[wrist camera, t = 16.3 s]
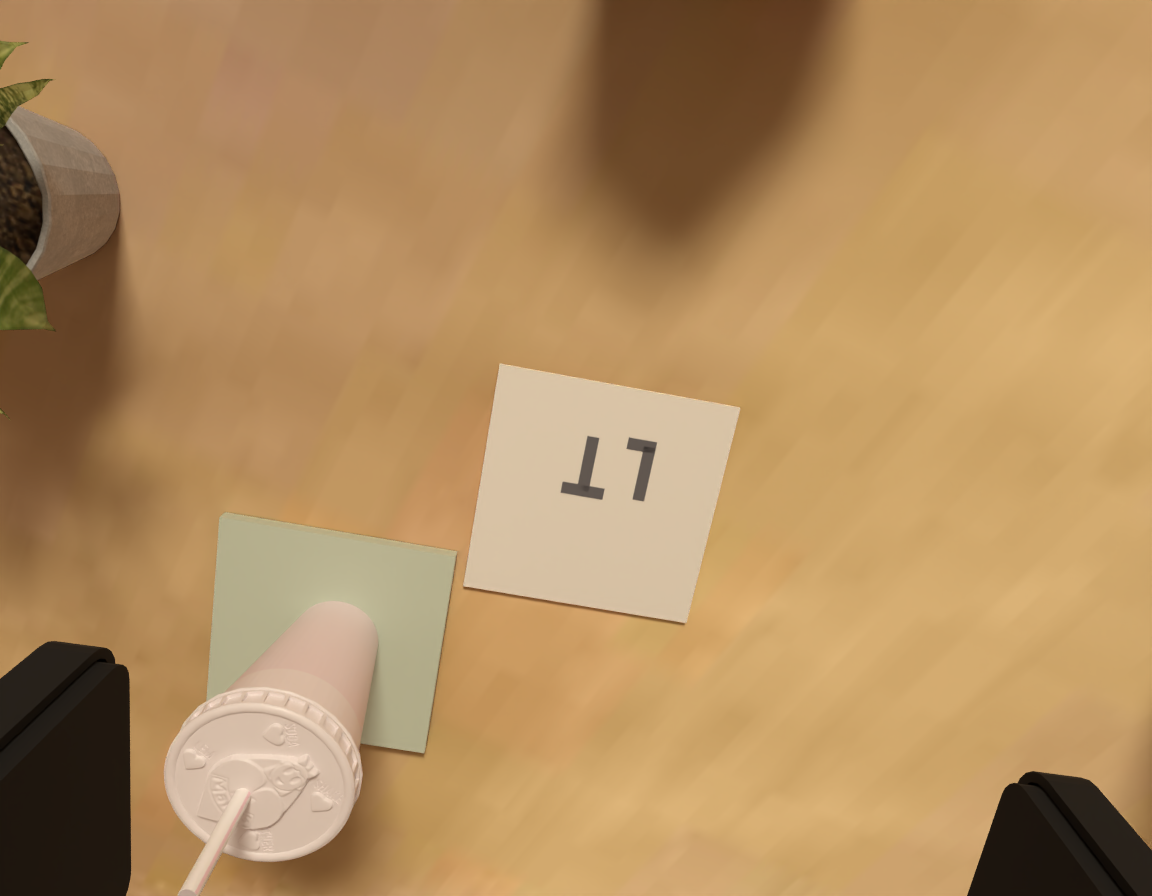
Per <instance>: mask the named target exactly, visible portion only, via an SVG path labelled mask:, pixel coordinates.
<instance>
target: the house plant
mask: <svg viewBox="0 0 1152 896" xmlns="http://www.w3.org/2000/svg"><path fill="white" fill-rule="evenodd" d="M26 43H29V42H5V41H0V69H1V67H2V65H3V63H4V61H5V60H6V58H7V57H8V56H9V55H10V54H11V53H12V51H13V50H14V49H15V48H16V47H17V46H20V45H23V44H26ZM51 80H54V79H41V80H36V81H31V82H25V83H17V84H14V85H11V86H7V87H4V88H0V330H24V329H46V330H51V331H55V329H54V328H53V327H52V326H51V325H50V323H49V322H48V320H47V315H46V309H45V303H44V297H43V292H42V287H41V286H40V284H39V283H38V281H37V280H39V279H41V278H43V277H45V276H47V275H50V274H52V273H54V272H56V271H58V270H60V269H62V268H64V267H66V266H68V265H70V264H72V263H75V262H77V261H79V260H81V259H83V258H85V257H87V256H89V255H91V254H93V253H95V252H96V251H97V250H98V249H99V248H101V247H102V246H103V245H104V244H105V243H106V242H107V241H108V239H109V238H110V236H111V234H112V233H113V231H114V230H115V227H116V223H117V220H118V216H119V212H120V194H119V190H118V186H117V182H116V178H115V175H114V173H113V171H112V169H111V167H110V165H109V164H108V162H107V160H106V158H105V157H104V156H103V154H102V153H101V152H100V151H99V150H98V149H97V147H96V146H95V145H94V144H93V143H92V142H91V141H90V140H88V139H87V138H86V137H84V136H83V135H81V134H80V133H79V132H77V131H76V130H73V129H71V128H69V127H67V126H64V125H62V124H60V123H57V122H55V121H53V120H50V119H48V118H45V117H43V116H41V115H38V114H36V113H34V112H31V111H29V110H27V109H24V108H22V107H20V106H19V105H21V104H23V103H25V102H27V101H29V100H30V99H32V98H34V97H36V96H37V95H38V94H39V93H40V92H41V91H42V89H43V88H44V87H45V85H46V84H47V83H48V82H49V81H51ZM0 413H2V414H4V415H5V416H6V417H7V418H8V416H7V415H6V414H5V413H4V412H3V411H2V410H1V409H0ZM8 419H9V418H8Z"/></svg>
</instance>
